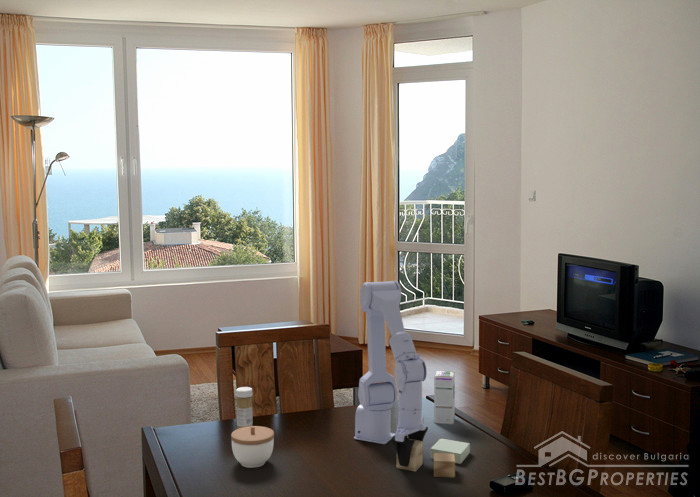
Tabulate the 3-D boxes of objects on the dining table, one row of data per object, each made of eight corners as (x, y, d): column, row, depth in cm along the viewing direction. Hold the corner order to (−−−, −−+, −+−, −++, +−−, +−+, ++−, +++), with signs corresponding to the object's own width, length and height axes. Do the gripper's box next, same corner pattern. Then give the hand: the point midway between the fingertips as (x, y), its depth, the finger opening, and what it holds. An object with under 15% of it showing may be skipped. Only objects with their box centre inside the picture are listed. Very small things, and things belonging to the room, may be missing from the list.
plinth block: (430, 459, 177) (430, 448, 177) (440, 449, 184) (440, 438, 184) (460, 465, 173) (460, 453, 173) (469, 454, 181) (469, 443, 180)
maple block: (396, 467, 171) (396, 444, 170) (404, 460, 175) (404, 437, 175) (415, 471, 169) (415, 447, 168) (422, 464, 173) (422, 441, 173)
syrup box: (453, 424, 202) (454, 376, 201) (433, 423, 203) (434, 375, 202) (454, 418, 208) (455, 371, 206) (435, 417, 209) (435, 370, 208)
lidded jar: (239, 474, 166) (239, 437, 166) (225, 459, 176) (225, 423, 175) (280, 466, 171) (280, 430, 170) (265, 452, 181) (265, 417, 180)
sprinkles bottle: (248, 431, 196) (247, 385, 195) (255, 436, 192) (255, 389, 191) (233, 434, 193) (233, 388, 192) (240, 439, 190) (240, 392, 188)
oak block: (433, 476, 166) (434, 460, 165) (433, 468, 171) (433, 452, 170) (454, 477, 165) (455, 461, 165) (453, 469, 170) (454, 453, 170)
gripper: (414, 418, 162) (414, 473, 164) (435, 401, 175) (434, 453, 177) (387, 413, 166) (386, 468, 167) (409, 397, 178) (408, 448, 180)
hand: (409, 460), depth 172 cm, fingers open, 7 cm apart
